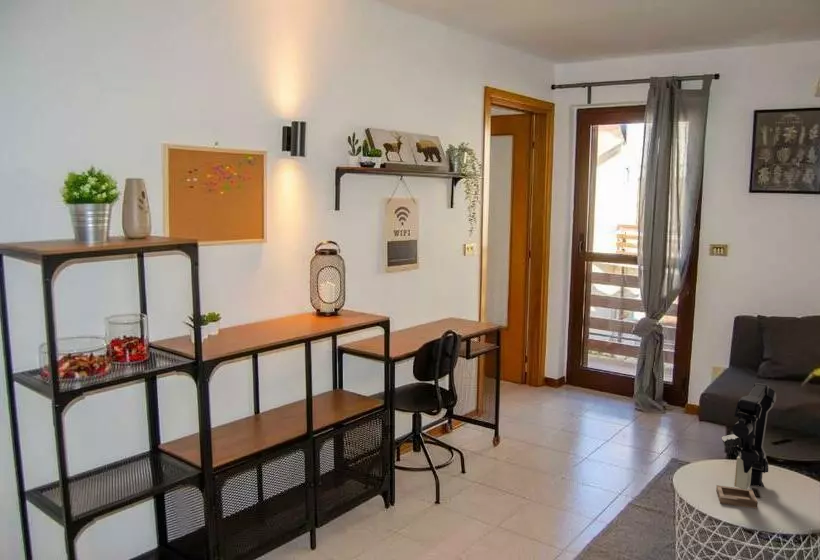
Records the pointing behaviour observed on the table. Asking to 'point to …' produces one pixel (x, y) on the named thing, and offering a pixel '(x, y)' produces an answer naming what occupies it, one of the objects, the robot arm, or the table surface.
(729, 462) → the table surface
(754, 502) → the walnut holder
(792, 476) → the table surface
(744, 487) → the skincare box
